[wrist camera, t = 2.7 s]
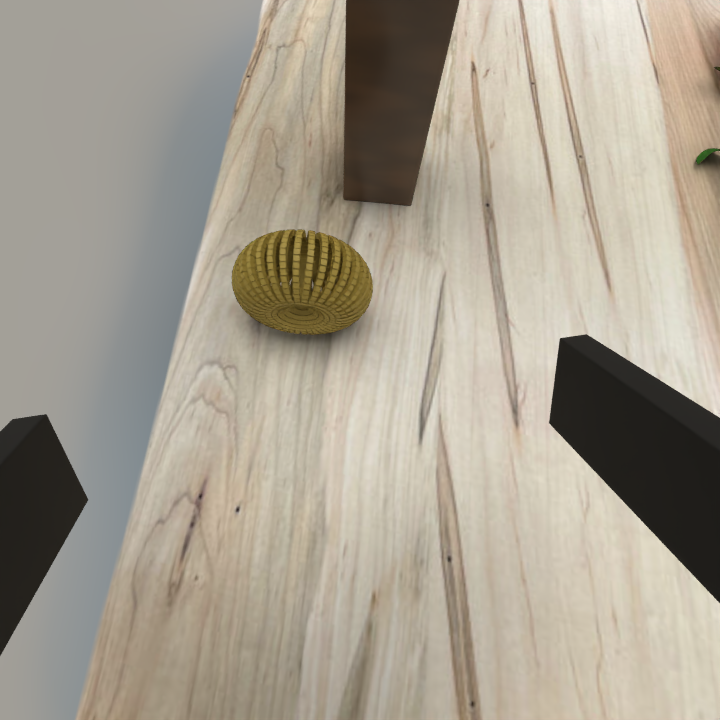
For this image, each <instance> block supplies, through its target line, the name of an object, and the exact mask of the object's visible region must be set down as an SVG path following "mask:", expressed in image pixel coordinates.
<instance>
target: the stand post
mask: <svg viewBox="0 0 720 720" xmlns="http://www.w3.org/2000/svg"><path fill="white" fill-rule="evenodd" d="M458 5H459V0H346V47H345V119H344V192H343V199H346V200H356V201H367V202H378V203H389V204H399V205H411V203H412V199H413V195H414V191H415V186H416V182H417V178H418V174H419V169H420V165H421V161H422V157H423V153H424V148H425V144H426V140H427V136H428V131H429V127H430V123H431V119H432V115H433V110H434V106H435V102H436V98H437V93H438V89H439V85H440V81H441V76H442V72H443V68H444V64H445V60H446V55H447V51H448V47H449V43H450V38H451V34H452V30H453V26H454V22H455V17H456V13H457V9H458Z"/></svg>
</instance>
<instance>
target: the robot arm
mask: <svg viewBox="0 0 720 720" xmlns="http://www.w3.org/2000/svg"><path fill="white" fill-rule="evenodd" d="M549 423H550V424H551V426H552V427H553V428H554V429H555V430H556V431H557V432H558V433H559V434H560V435H561V436H562V437H563V438H564V439H565V440H566V441H567V442H568V443H569V445H570V446H571V447H572V448H573V449H574V450H575V451H576V452H577V453H578V454H579V455H580V456H581V457H582V458H583V459H584V460H585V461H586V462H587V464H588V465H589V466H590V467H591V468H592V469H593V470H594V471H595V472H596V473H597V474H598V475H599V476H600V477H601V478H602V479H603V480H604V481H605V483H606V484H607V485H608V486H609V487H610V488H611V489H612V490H613V491H614V492H615V493H616V494H617V495H618V496H619V497H620V498H621V499H622V500H623V502H624V503H625V504H626V505H627V506H628V507H629V508H630V509H631V510H632V511H633V512H634V513H635V514H636V515H637V516H638V517H639V518H640V519H641V521H642V522H643V523H644V524H645V525H646V526H647V527H648V528H649V529H650V530H651V531H652V532H653V533H654V534H655V535H656V536H657V537H658V538H659V540H660V541H661V542H662V543H663V544H664V545H665V546H666V547H667V548H668V549H669V550H670V551H671V552H672V553H673V554H674V555H675V556H676V557H677V558H678V560H679V561H680V562H681V563H682V564H683V565H684V566H685V567H686V568H687V569H688V570H689V571H690V572H691V573H692V574H693V575H694V576H695V577H696V579H697V580H698V581H699V582H700V583H701V584H702V585H703V586H704V587H705V588H706V589H707V590H708V591H709V592H710V593H711V594H712V595H713V596H714V598H715V599H716V600H717V601H718V602H719V603H720V418H719V417H718V416H716V415H714V414H713V413H711V412H710V411H708V410H706V409H705V408H703V407H702V406H700V405H698V404H697V403H695V402H694V401H692V400H690V399H689V398H687V397H686V396H684V395H682V394H681V393H679V392H678V391H676V390H674V389H673V388H671V387H670V386H668V385H666V384H665V383H663V382H662V381H660V380H659V379H657V378H655V377H654V376H652V375H651V374H649V373H647V372H646V371H644V370H643V369H641V368H639V367H638V366H636V365H635V364H633V363H631V362H630V361H628V360H627V359H625V358H623V357H622V356H620V355H619V354H617V353H615V352H614V351H612V350H611V349H609V348H607V347H606V346H604V345H603V344H601V343H600V342H598V341H596V340H595V339H593V338H592V337H590V336H588V335H587V334H586V335H580V336H573V337H566V338H560V342H559V350H558V358H557V366H556V373H555V381H554V389H553V397H552V405H551V413H550V420H549ZM87 501H88V498H87V496H86V494H85V492H84V491H83V488H82V486H81V484H80V482H79V480H78V478H77V476H76V474H75V472H74V470H73V468H72V466H71V464H70V462H69V460H68V458H67V456H66V453H65V451H64V449H63V447H62V445H61V443H60V441H59V439H58V437H57V435H56V433H55V431H54V429H53V427H52V425H51V423H50V421H49V419H48V417H47V415H46V414H45V415H38V416H31V417H25V418H18V419H13V420H12V421H10V423H8V425H7V426H5V428H3V429H2V431H0V655H1V654H2V652H3V650H4V648H5V646H6V645H7V643H8V641H9V639H10V637H11V636H12V634H13V632H14V630H15V629H16V627H17V625H18V623H19V622H20V620H21V618H22V616H23V614H24V613H25V611H26V609H27V607H28V605H29V604H30V602H31V600H32V598H33V597H34V595H35V593H36V591H37V590H38V588H39V586H40V584H41V583H42V581H43V579H44V577H45V576H46V574H47V572H48V570H49V568H50V567H51V565H52V563H53V561H54V559H55V558H56V556H57V554H58V552H59V551H60V549H61V547H62V545H63V544H64V542H65V540H66V538H67V536H68V535H69V533H70V531H71V529H72V528H73V526H74V524H75V522H76V521H77V519H78V517H79V515H80V513H81V512H82V510H83V508H84V506H85V505H86V503H87Z"/></svg>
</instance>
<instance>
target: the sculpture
mask: <svg viewBox="0 0 720 720" xmlns="http://www.w3.org/2000/svg"><path fill="white" fill-rule="evenodd" d="M256 270H257V271H256ZM232 273H233V274H232V286H233V291H234V294H235V296H236V297H237V298H236V299H237V301H238V302H239V304H240V306H242V308H243V310H244V311H246V313H247V314H249V315H250V316H251V317H252V318H254V319H255V320H257V321H258V322H260V323H262V324H264V325H267V326H268V327H271V328H274V329H277V330H280V331H284V332H285V331H286V332H289V333H293V332H294V333H295V334H300V332H301V333H302V334H306V335H307V334H309V335H314V334H325V333H331V332H336V331H338V330H341V329H344V328H346V327H348V326H349V325H352V324H353V323H354V322H355V321H356V320H358V319H359V317H361V316H362V315H363V314H364V313H365V311H366V309H367V308H368V306H369V303H370V301H371V298H372V297H371V296H372V292H373V290H372V288H373V284H372V278H371V273H370V271H369V268H368V266H367V264H366V262H365V261H364V260H363V258H362V257H361V256H360V254H359V253H358V252H356V251H354V249H353V248H352V247H351V246H349V245H348V244H345V242H343V241H341V240H338V239H337V238H336V239H335V237H333V236H330V235H329V236H328V235H326V234H324V233H320V232H319V233H317V234H316V235H315V231H310V230H309V231H308V235H307V239H306V232H305V230H297V231H296V230H286V231H285V230H283V231H282V230H281V231H278V232H277V231H276V232H274V233H268V234H266V235H263V236H261V237H259V238H257V239H256V240H255V241H252V242H251V243H250V244H249V245H247V246H246V247H245V249H244V250H242V252H241V253H240V254H239V256H238V258H237V260H236V262H235V265H234V267H233V271H232ZM349 276H350V277H349ZM291 278H292V281H291ZM290 281H291V284H290V283H289V282H290ZM312 281H313V284H314V286H313V289H312V290H313V291H312V290H311V287H312V285H311V284H312ZM280 282H282V283H281V284H282V285H283V286H282V285H280ZM271 283H272V284H271ZM335 284H336V285H335ZM261 285H262V286H261ZM290 285H291V286H290ZM321 287H322V291H320V289H321ZM311 291H312V292H311ZM341 291H342V292H341ZM329 292H331V293H329ZM348 295H349V296H348Z"/></svg>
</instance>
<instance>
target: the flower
mask: <svg viewBox="0 0 720 720" xmlns="http://www.w3.org/2000/svg"><path fill="white" fill-rule="evenodd" d="M714 68H715V69H716V70H718V71H720V67H714ZM715 151H720V149H715V148H713V149H707V150H705V151H703V152H702V153H701V154H700V155H699V156H698V157H697V160H696V161H697V164H698V165H699V164H700V163H701V162H702V161H703V160H704V159H705V158H706V157H707V156H708V155H710V154H711V153H712V152H715Z"/></svg>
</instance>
